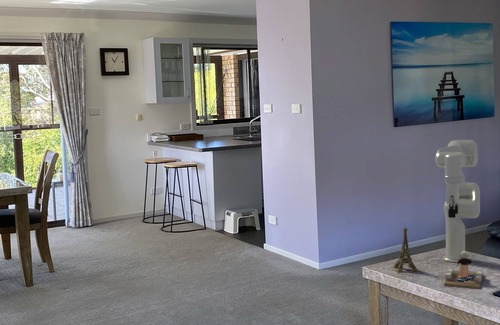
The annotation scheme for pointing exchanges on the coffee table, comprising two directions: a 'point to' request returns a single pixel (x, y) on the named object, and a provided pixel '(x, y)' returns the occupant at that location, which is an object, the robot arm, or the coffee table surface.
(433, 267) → the coffee table surface
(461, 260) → the grandmother figurine
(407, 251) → the eiffel tower
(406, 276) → the coffee table surface
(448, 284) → the board
